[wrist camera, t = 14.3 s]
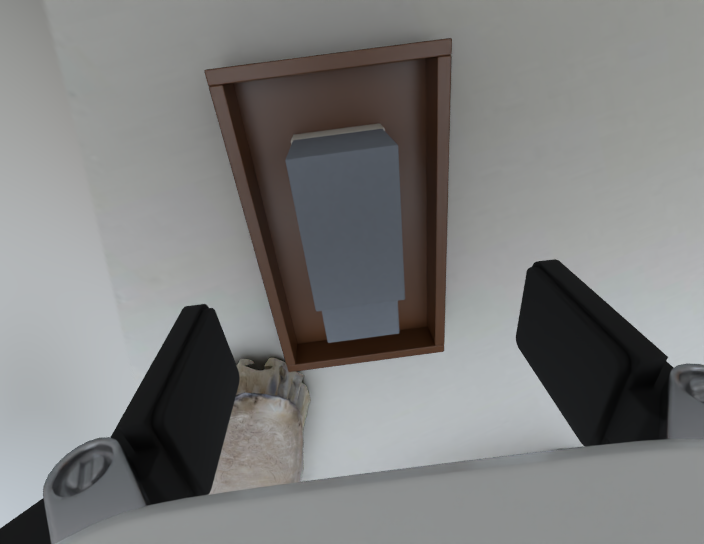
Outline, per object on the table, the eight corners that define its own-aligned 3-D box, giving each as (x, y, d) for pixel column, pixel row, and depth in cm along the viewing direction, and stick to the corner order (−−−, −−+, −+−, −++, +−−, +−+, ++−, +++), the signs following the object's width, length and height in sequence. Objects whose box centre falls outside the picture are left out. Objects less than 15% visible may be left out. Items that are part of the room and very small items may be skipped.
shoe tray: (219, 69, 17) (203, 69, 15) (434, 41, 17) (452, 37, 15) (291, 345, 26) (288, 372, 23) (433, 326, 26) (444, 351, 23)
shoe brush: (292, 525, 38) (289, 585, 33) (219, 525, 37) (205, 587, 32) (316, 352, 26) (315, 410, 22) (209, 345, 25) (185, 404, 21)
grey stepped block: (292, 134, 18) (282, 159, 13) (380, 122, 18) (401, 144, 13) (325, 311, 23) (326, 373, 19) (392, 302, 24) (410, 362, 19)
